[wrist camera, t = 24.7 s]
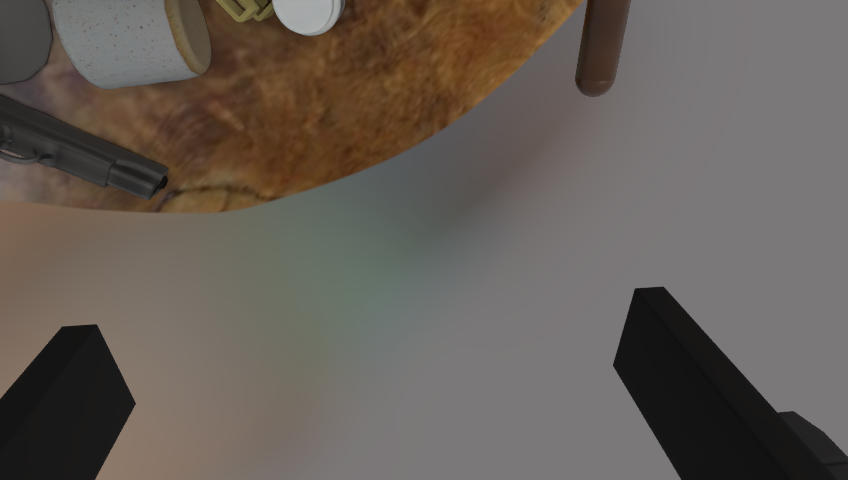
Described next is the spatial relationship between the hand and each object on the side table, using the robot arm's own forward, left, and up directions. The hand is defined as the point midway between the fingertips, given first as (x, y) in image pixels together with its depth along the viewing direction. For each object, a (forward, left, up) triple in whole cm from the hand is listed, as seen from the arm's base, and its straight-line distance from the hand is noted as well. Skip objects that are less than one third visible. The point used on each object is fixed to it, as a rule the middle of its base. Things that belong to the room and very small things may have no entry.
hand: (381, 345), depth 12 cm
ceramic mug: (-14, -13, -35) cm, 39 cm away
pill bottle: (-8, -1, -35) cm, 36 cm away
